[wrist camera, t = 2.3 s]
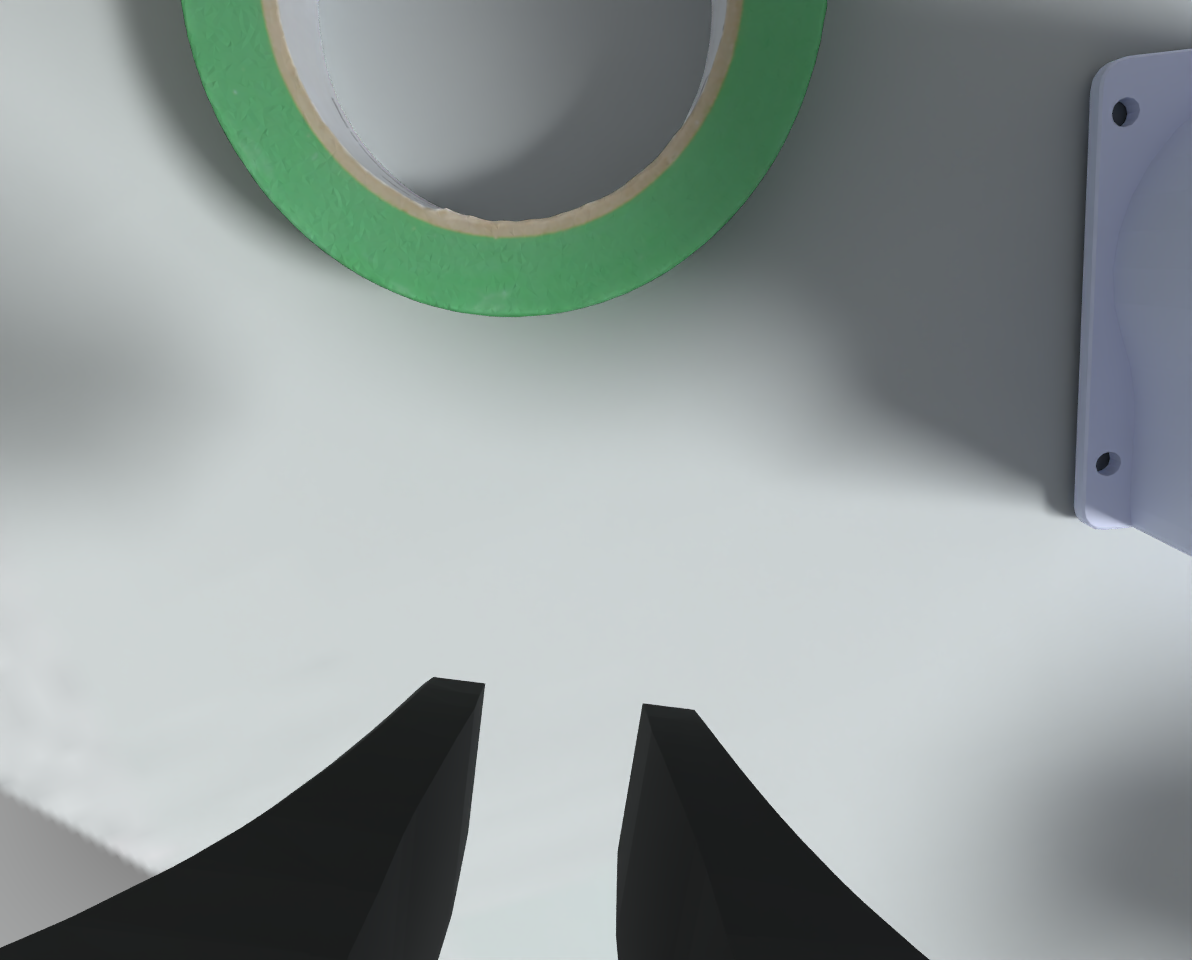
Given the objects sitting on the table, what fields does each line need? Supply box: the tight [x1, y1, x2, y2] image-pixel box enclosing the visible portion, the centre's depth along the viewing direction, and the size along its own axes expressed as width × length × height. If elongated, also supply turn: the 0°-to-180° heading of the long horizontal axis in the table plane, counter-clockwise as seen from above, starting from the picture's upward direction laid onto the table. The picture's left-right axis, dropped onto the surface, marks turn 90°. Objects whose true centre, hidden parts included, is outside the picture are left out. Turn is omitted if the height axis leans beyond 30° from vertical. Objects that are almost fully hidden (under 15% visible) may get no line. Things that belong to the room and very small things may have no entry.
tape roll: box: [181, 0, 827, 317], centre depth 15 cm, size 11×11×3 cm
